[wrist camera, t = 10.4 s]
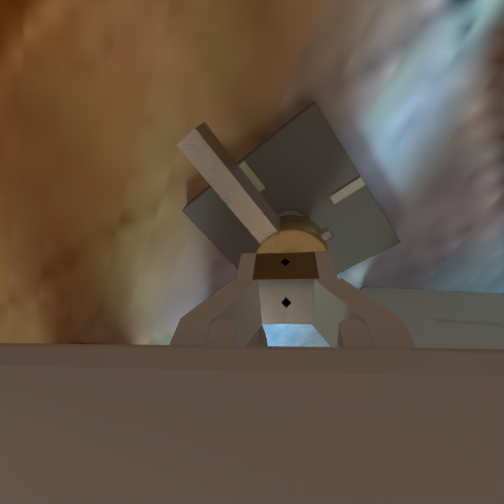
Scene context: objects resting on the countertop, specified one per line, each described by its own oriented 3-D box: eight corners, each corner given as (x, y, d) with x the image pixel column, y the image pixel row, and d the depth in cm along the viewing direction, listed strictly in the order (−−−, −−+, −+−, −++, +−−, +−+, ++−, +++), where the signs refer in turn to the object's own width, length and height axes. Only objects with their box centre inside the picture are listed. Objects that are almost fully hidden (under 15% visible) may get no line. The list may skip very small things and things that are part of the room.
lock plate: (274, 296, 42) (272, 328, 36) (186, 204, 35) (170, 226, 30) (394, 233, 34) (413, 261, 29) (313, 101, 28) (320, 107, 23)
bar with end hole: (544, 290, 37) (658, 386, 25) (522, 322, 40) (614, 420, 29) (358, 281, 39) (388, 366, 28) (351, 312, 42) (375, 400, 31)
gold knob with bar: (346, 249, 29) (354, 273, 25) (276, 286, 32) (275, 311, 29) (236, 93, 22) (227, 97, 19) (163, 159, 26) (145, 173, 22)
